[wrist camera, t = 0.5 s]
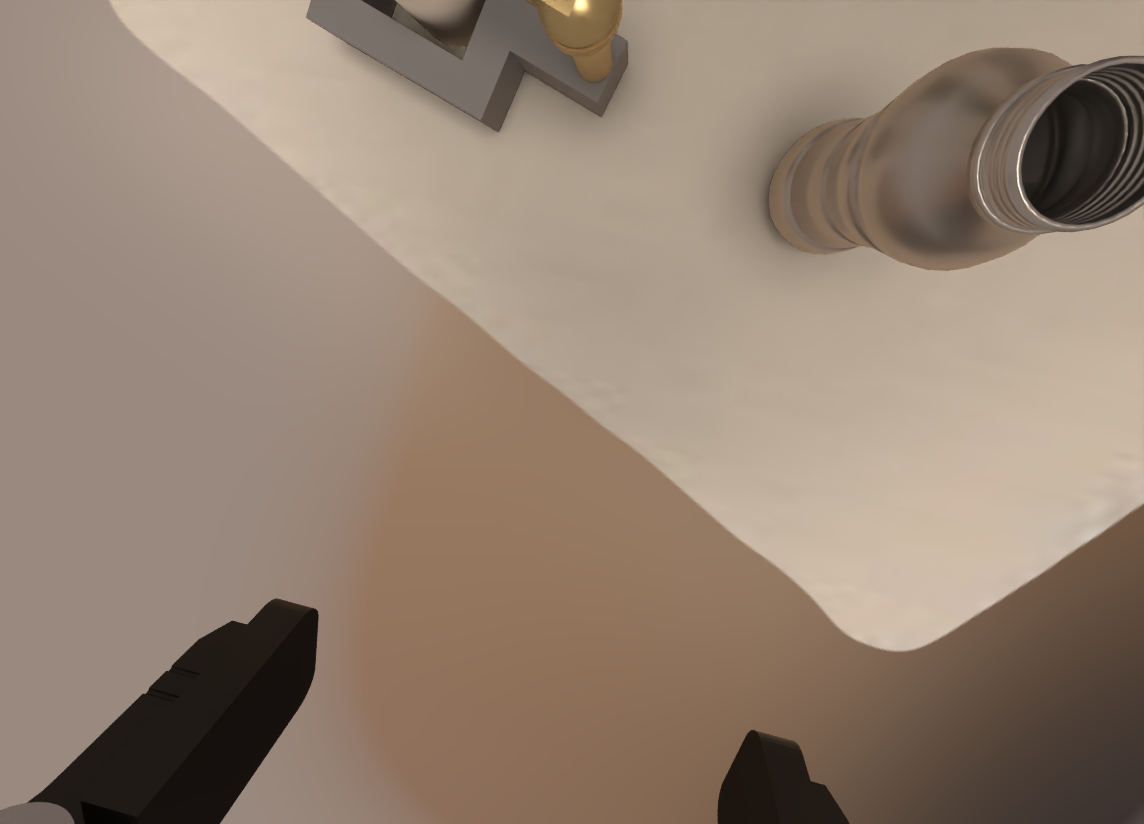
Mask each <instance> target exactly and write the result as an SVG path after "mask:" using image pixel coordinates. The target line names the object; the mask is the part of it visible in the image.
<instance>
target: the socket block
mask: <svg viewBox="0 0 1144 824" xmlns="http://www.w3.org/2000/svg"><path fill="white" fill-rule="evenodd" d="M395 5H396V1H395V0H311V2H310V6H309V9H308V13H307V16H306V18H307V19H309V20H310V21H312V22H314V23H315V24H317V25H319V26H320V27H322V28H323V29H325V30H327V31H328V32H330V33H332V34H333V35H335V36H336V37H338V38H340V39H341V40H343V41H345V42H346V43H348V44H350V45H351V46H353V47H355V48H356V49H358V50H360V51H362V52H363V53H365V54H367V55H368V56H370V57H372V58H373V59H375V60H377V61H379V62H380V63H382V64H384V65H385V66H387V67H389V68H390V69H392V70H394V71H396V72H397V73H399V74H401V75H402V76H404V77H406V78H407V79H409V80H411V81H413V82H414V83H416V84H418V85H419V86H421V87H423V88H424V89H426V90H428V91H430V92H431V93H433V94H435V95H436V96H438V97H440V98H441V99H443V100H445V101H447V102H448V103H450V104H452V105H453V106H455V107H457V108H458V109H460V110H462V111H464V112H465V113H467V114H469V115H470V116H472V117H474V118H475V119H477V120H479V121H481V122H482V123H484V124H486V125H487V126H489V127H491V128H492V129H494V130H496V131H498V132H499V130H500V128H501V125H502V123H503V121H504V119H505V116H506V114H507V112H508V109H509V107H510V105H511V102H512V100H513V98H514V95H515V93H516V91H517V89H518V86H519V84H520V82H521V79H522V77H523V75H524V72H527V73H529V74H530V75H532V76H534V77H535V78H537V79H539V80H540V81H542V82H544V83H545V84H547V85H549V86H550V87H552V88H554V89H555V90H557V91H559V92H560V93H562V94H564V95H565V96H567V97H569V98H570V99H572V100H574V101H575V102H577V103H579V104H580V105H582V106H584V107H585V108H587V109H589V110H590V111H592V112H594V113H595V114H597V115H599V116H600V117H602V115H603V113H604V111H605V109H606V107H607V105H608V103H609V101H610V99H611V97H612V95H613V93H614V91H615V89H616V87H617V85H618V83H619V81H620V79H621V77H622V75H623V73H624V71H625V69H626V67H627V65H628V43H627V40H625V39H624V38H622V37H620V36H619V35H617V34H615V36H614V38H613V39H612V40H611V42H610V43H609V44H608V45H607V46H606V47H605V48H604V49H603V50H601V51H600V52H598V53H596V54H594V55H591V56H587V57H574V56H570V55H567V54H565V53H563V52H562V51H560V50H559V49H558V48H557V47H556V46H555V45H554V44H553V43H552V42H551V40H550V39H549V37H548V35H547V33H546V31H545V28H544V26H543V24H542V22H541V20H540V18H539V14H538V11H537V8H536V7H534V6H532V5H531V4H529V3H528V2H526V1H524V0H486V1H485V3H484V6H483V8H482V11H481V13H480V16H479V18H478V21H477V24H476V26H475V29H474V31H473V34H472V36H471V39H470V41H469V44H468V47H467V49H466V52H465V54H464V57H463V59H462V60H461V59H459V58H457V57H455V56H454V55H452V54H450V53H449V52H447V51H445V50H444V49H442V48H440V47H439V46H437V45H435V44H434V43H432V42H430V41H429V40H427V39H425V38H424V37H422V36H420V35H419V34H417V33H415V32H414V31H412V30H410V29H408V28H407V27H405V26H403V25H402V24H400V23H398V22H397V21H395V20H393V19H392V18H391V17H392V14H393V11H394V8H395Z"/></svg>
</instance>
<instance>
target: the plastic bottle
mask: <svg viewBox="0 0 1144 824" xmlns="http://www.w3.org/2000/svg"><path fill="white" fill-rule="evenodd" d="M1143 204H1144V56H1119V57H1114V58H1109V59H1103V60H1100V61H1097V62H1094V63H1091V64H1081V65H1076V66H1071V65H1070V64H1069V63H1068V62H1066V61H1064V60H1063V59H1061V58H1059V57H1057V56H1055V55H1054V54H1051V53H1048V52H1044V51H1040V50H1036V49H1028V48H989V49H984V50H979V51H974V52H970V53H967V54H965V55H962V56H960V57H957V58H955V59H952V60H950V61H947V62H946V63H944V64H942V65H941V66H939V67H938V68H936V69H934V70H933V71H931V72H929V73H928V74H926V75H925V76H923V77H922V78H920V79H919V80H917V81H916V82H914V83H913V84H911V85H910V86H909V87H908V88H907V89H906V90H904V91H903V92H902V93H901V94H900V95H899V96H897V97H896V98H895V99H894V100H893V101H892V102H891V103H890V104H888V105H887V106H886V107H885V108H884V109H883V110H881V111H879V112H878V113H876V114H874V115H873V116H871V117H869V118H849V119H842V120H837V121H831V122H828V123H826V124H823V125H821V126H818V127H816V128H815V129H813V130H811V131H810V132H808V133H806V134H805V135H804V136H803V137H802V138H800V139H799V140H798V141H797V142H796V143H795V144H794V145H793V146H792V147H791V148H790V150H789V151H788V152H787V153H786V155H785V156H784V157H783V159H782V160H781V162H780V164H779V166H778V167H777V169H776V171H775V173H774V176H773V179H772V181H771V185H770V191H769V210H770V215H771V218H772V221H773V223H774V225H775V227H776V229H777V230H778V231H779V233H780V234H781V235H782V236H783V238H784V239H786V240H787V241H788V242H789V243H790V244H791V245H793V246H794V247H796V248H798V249H800V250H802V251H805V252H809V253H813V254H832V253H838V252H843V251H847V250H850V249H853V248H856V247H859V246H865V247H870V248H874V249H876V250H878V251H880V252H882V253H884V254H885V255H887V256H889V257H891V258H893V259H895V260H897V261H899V262H902V263H906V264H909V265H912V266H916V267H919V268H923V269H927V270H943V271H949V270H956V269H963V268H969V267H972V266H975V265H978V264H981V263H984V262H988V261H990V260H993V259H996V258H999V257H1002V256H1004V255H1006V254H1008V253H1010V252H1012V251H1014V250H1016V249H1018V248H1020V247H1022V246H1024V245H1025V244H1027V243H1028V242H1030V241H1031V240H1033V239H1034V238H1035V237H1037V236H1038V235H1040V234H1044V233H1051V232H1056V231H1058V232H1076V231H1083V230H1089V229H1094V228H1098V227H1101V226H1104V225H1107V224H1110V223H1113V222H1115V221H1117V220H1119V219H1121V218H1123V217H1125V216H1127V215H1129V214H1130V213H1132V212H1133V211H1135V210H1136V209H1138V208H1139V207H1141V206H1142V205H1143Z"/></svg>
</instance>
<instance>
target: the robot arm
mask: <svg viewBox="0 0 1144 824" xmlns="http://www.w3.org/2000/svg"><path fill="white" fill-rule="evenodd" d="M317 632H318V611H317V610H316V609H314V608H310V607H306V606H303V605H299V604H295V603H292V602H288V601H284V600H281V599H273V600H271V601H270V602H269V603H267V604H266V605H265V606H264V607H263V608H262V609H261V610H260V612H259V613H258V614H257V615H256V616H255V617H254V618H253V619H252V620H251V621H250V622H249V623H248V624H243V623H239V622H236V621H231V622H229V623H227V624H225V625H224V626H222V627H220V628H218V629H217V630H215V631H213V632H211V633H209V634H208V635H206V636H204V637H202V638H201V639H199V640H198V641H197V642H196V643H195V644H194V645H193V646H191V647H190V649H188V650H187V651H186V652H185V653H184V654H183V655H182V656H181V657H180V658H179V659H178V660H177V661H176V662H175V663H174V664H173V665H172V668H171V669H170V670H169V671H166V672H165V673H164V674H163V675H162V676H161V677H160V678H159V679H158V680H157V681H156V682H155V683H154V684H153V685H151V687H150V688H149V690H148V692H147V693H146V694H142V695H141V696H140V697H139V698H138V699H137V700H136V701H135V702H134V703H133V704H132V705H131V706H130V707H129V708H128V709H127V710H126V711H125V712H124V713H123V714H122V715H121V716H120V717H119V718H118V719H116V720H115V721H114V723H112V724H111V725H110V726H109V728H107V729H106V730H105V731H104V732H103V733H102V734H101V735H100V736H99V737H98V738H97V739H96V740H95V741H94V742H93V743H92V744H91V745H90V746H89V747H88V748H87V749H86V750H85V751H84V752H83V753H82V754H81V755H80V756H78V757H77V759H76V760H75V761H73V762H72V763H71V764H70V765H69V766H68V767H67V768H66V769H65V770H64V771H63V772H62V773H61V774H60V775H59V776H58V777H57V778H56V779H55V780H54V781H53V782H52V783H51V784H50V785H48V786H47V787H46V788H45V789H44V790H43V791H42V792H41V793H39V794H38V795H37V796H35V797H34V798H33V799H31V800H30V801H29V802H27V803H24V804H20V805H16V806H11V807H8V808H6V809H3V810H0V824H220V823H221V821H222V820H223V818H224V817H225V815H226V814H227V813H228V811H229V810H230V808H231V807H232V805H233V804H234V802H235V801H236V799H237V798H238V796H239V795H240V794H241V792H242V791H243V789H244V788H245V786H246V785H247V783H248V782H249V780H250V779H251V777H252V776H253V775H254V773H255V772H256V770H257V769H258V767H259V766H260V764H261V763H262V761H263V760H264V758H265V757H266V756H267V754H268V753H269V751H270V750H271V748H272V747H273V745H274V744H275V742H276V741H277V739H278V738H279V737H280V735H281V734H282V732H283V730H284V729H285V728H286V726H287V725H288V723H289V722H290V720H291V719H292V718H293V716H294V715H295V713H296V712H297V710H298V709H299V707H300V706H301V704H302V702H303V700H304V699H305V697H306V695H307V693H308V690H309V688H310V686H311V683H312V680H313V676H314V672H315V664H316V648H317ZM718 824H849V822H848V820H847V818H846V817H845V815H844V814H843V812H842V810H841V809H840V807H839V806H838V804H837V803H836V801H835V800H834V798H833V797H832V795H831V793H830V792H829V791H828V789H827V787H826V786H825V785H822V784H818V783H815V782H812V781H810V778H809V775H808V771H807V767H806V764H805V761H804V757H803V754H802V751H801V749H800V747H799V745H798V744H797V743H796V742H794V741H791V740H788V739H784V738H780V737H777V736H773V735H770V734H766V733H762V732H758V731H755V730H751V731H749V733H748V734H747V736H746V737H745V739H744V741H743V743H742V745H741V747H740V749H739V751H738V753H737V755H736V757H735V759H734V761H733V763H732V765H731V767H730V769H729V771H728V773H727V775H726V777H725V779H724V781H723V783H722V786H721V789H720V794H719V800H718Z"/></svg>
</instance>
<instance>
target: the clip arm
mask: <svg viewBox="0 0 1144 824" xmlns="http://www.w3.org/2000/svg"><path fill="white" fill-rule="evenodd" d="M524 1H526V2H528V3H529V4H531V5H532V6H534V7H536V8H537V11H538V14H539V18H540V20H541V22H542V24H543V26H544V28H545V31H546V33H547V35H548V37H549V39H550V40H551V42H552V43H553V44H554V45H555V46H556V47H557V48H558V49H559V50H560V51H562V52H563V53H565V54H567V55H570V56H574V57H587V56H591V55H594V54H596V53H598V52H600V51H601V50H603V49H604V48H605V47H606V46H607V45H608V44H609V43H610V42H611V40H612V39H613V38H614V36H615V34H616V32H617V30H618V27H619V25H620V21H621V16H622V0H524Z"/></svg>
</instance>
